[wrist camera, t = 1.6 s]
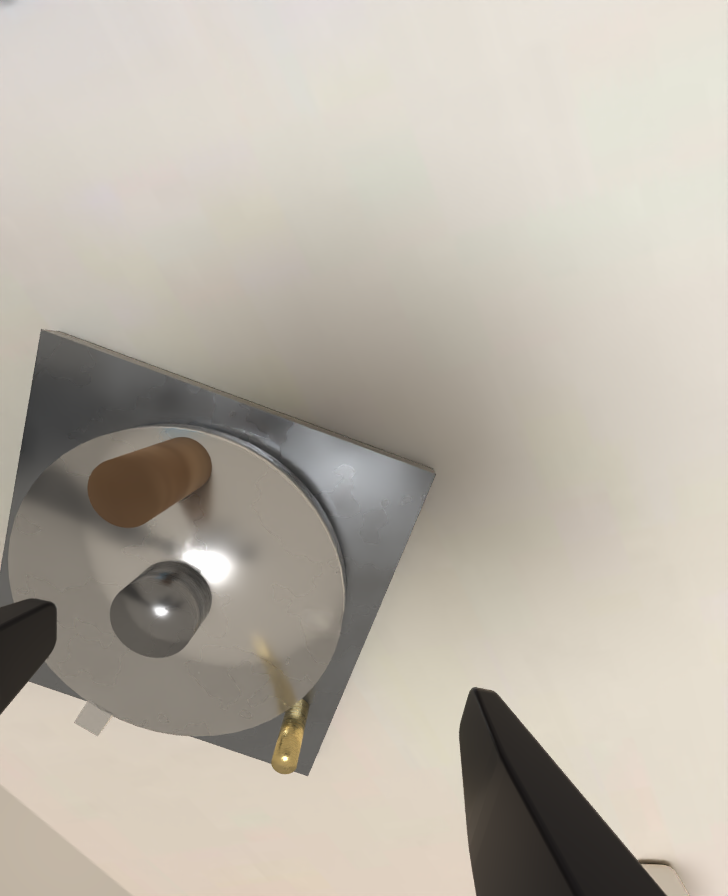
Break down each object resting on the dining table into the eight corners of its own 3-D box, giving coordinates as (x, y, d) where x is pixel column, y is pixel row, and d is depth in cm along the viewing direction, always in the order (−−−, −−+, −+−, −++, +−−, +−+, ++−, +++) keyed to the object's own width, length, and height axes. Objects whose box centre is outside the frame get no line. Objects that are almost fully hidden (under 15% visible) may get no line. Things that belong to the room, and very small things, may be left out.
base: (2, 653, 22) (-81, 714, 18) (59, 331, 18) (-31, 320, 14) (311, 758, 22) (296, 840, 19) (432, 468, 19) (446, 495, 15)
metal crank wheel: (5, 678, 21) (-118, 779, 16) (61, 373, 17) (-75, 374, 12) (281, 772, 21) (250, 900, 16) (394, 494, 18) (399, 545, 12)
